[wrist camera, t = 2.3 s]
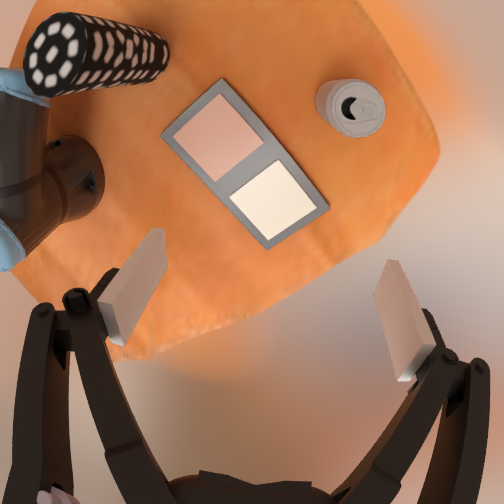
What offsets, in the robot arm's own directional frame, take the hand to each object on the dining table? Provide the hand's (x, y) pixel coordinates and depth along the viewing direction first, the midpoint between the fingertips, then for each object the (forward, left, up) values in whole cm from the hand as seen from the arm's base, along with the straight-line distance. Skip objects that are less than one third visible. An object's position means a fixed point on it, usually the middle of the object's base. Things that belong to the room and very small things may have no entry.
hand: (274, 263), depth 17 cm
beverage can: (-1, +11, -28) cm, 30 cm away
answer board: (-1, -5, -27) cm, 28 cm away
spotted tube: (-24, -5, -28) cm, 37 cm away
